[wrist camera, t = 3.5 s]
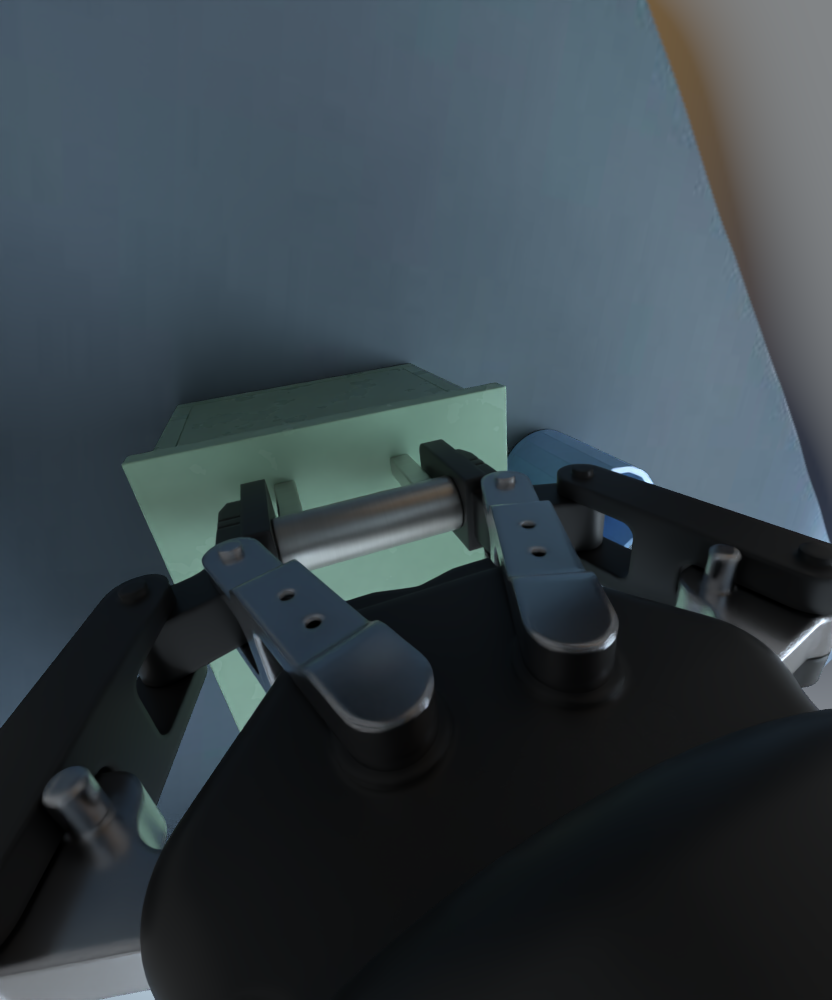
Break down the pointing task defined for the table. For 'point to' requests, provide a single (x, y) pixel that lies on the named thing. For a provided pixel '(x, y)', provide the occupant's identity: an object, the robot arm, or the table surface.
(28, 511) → the table surface
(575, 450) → the cup
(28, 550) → the table surface
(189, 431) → the green box
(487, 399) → the lid
